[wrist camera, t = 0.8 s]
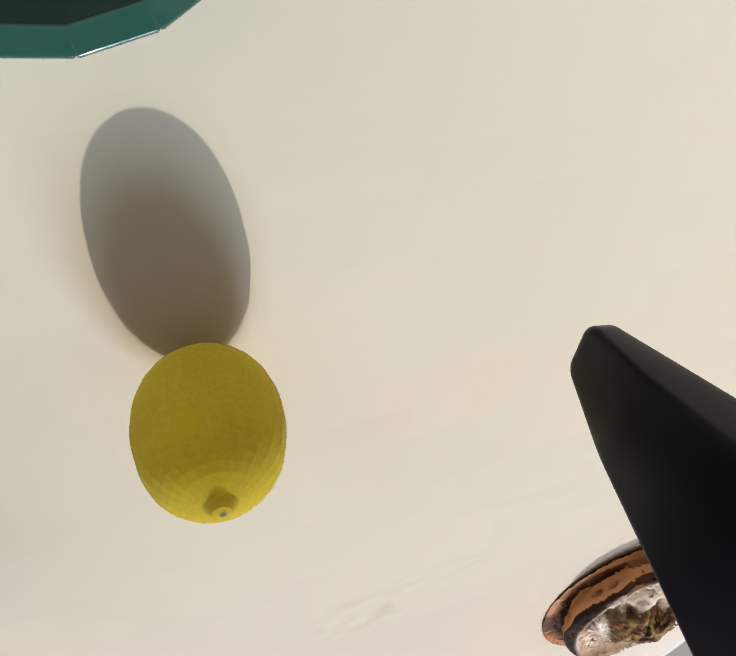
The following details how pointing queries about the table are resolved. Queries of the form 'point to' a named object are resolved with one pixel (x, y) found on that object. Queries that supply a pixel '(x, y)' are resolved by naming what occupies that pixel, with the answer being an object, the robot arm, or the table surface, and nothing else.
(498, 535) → the table surface
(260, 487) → the lemon
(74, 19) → the cup
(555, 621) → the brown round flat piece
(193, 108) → the table surface
